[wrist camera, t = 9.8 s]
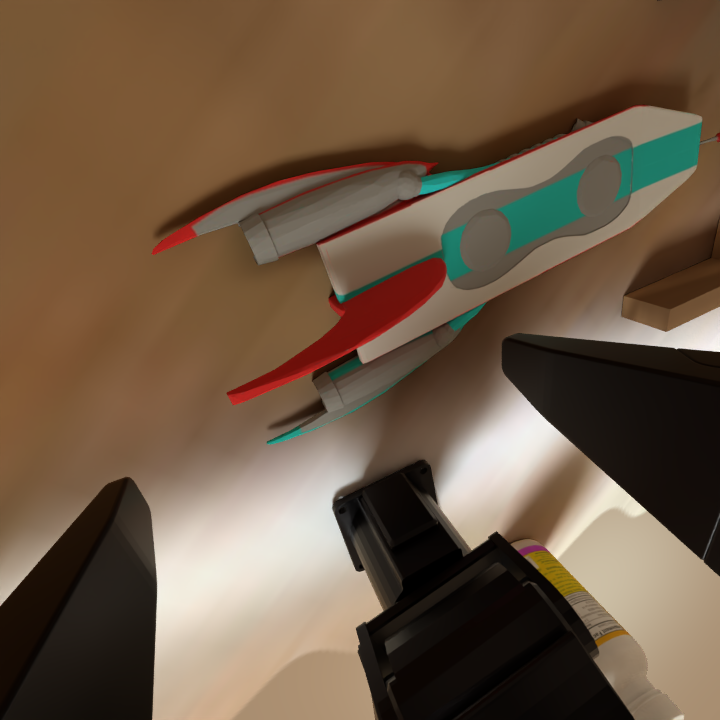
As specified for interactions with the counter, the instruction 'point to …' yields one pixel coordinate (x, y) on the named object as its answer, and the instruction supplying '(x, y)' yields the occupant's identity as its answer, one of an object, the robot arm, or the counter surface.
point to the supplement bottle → (606, 640)
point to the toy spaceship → (447, 240)
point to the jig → (677, 295)
